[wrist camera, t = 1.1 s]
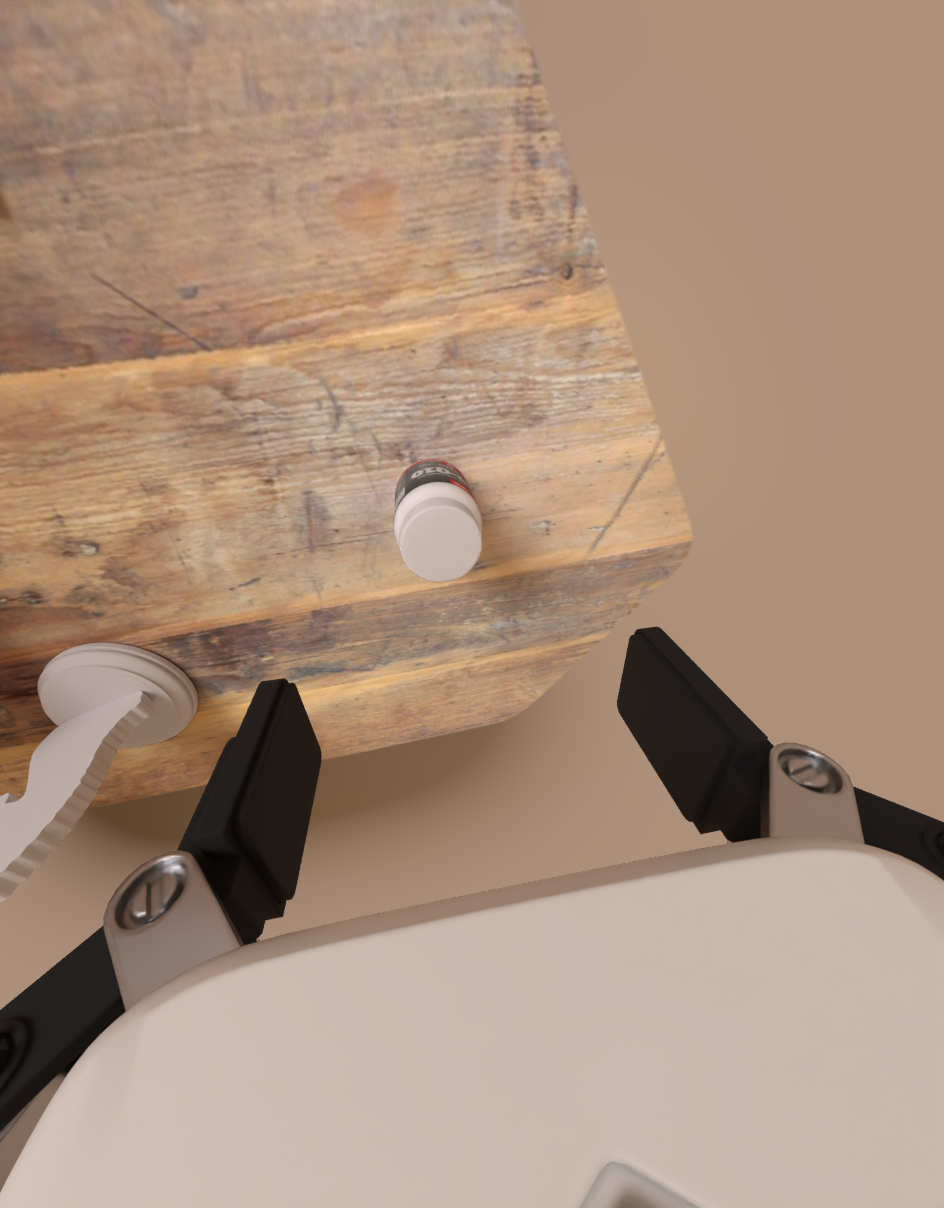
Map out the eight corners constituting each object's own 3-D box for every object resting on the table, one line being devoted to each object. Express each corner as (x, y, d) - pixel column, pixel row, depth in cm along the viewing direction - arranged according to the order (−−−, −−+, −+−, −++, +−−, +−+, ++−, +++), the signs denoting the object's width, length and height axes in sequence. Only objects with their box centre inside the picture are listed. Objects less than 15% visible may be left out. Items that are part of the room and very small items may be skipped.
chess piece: (9, 672, 28) (-308, 927, 16) (131, 622, 28) (-96, 846, 15) (122, 750, 33) (-46, 988, 21) (225, 710, 33) (117, 930, 20)
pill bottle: (475, 467, 25) (504, 509, 18) (457, 535, 28) (476, 595, 21) (402, 448, 24) (403, 486, 17) (389, 520, 26) (385, 580, 19)
